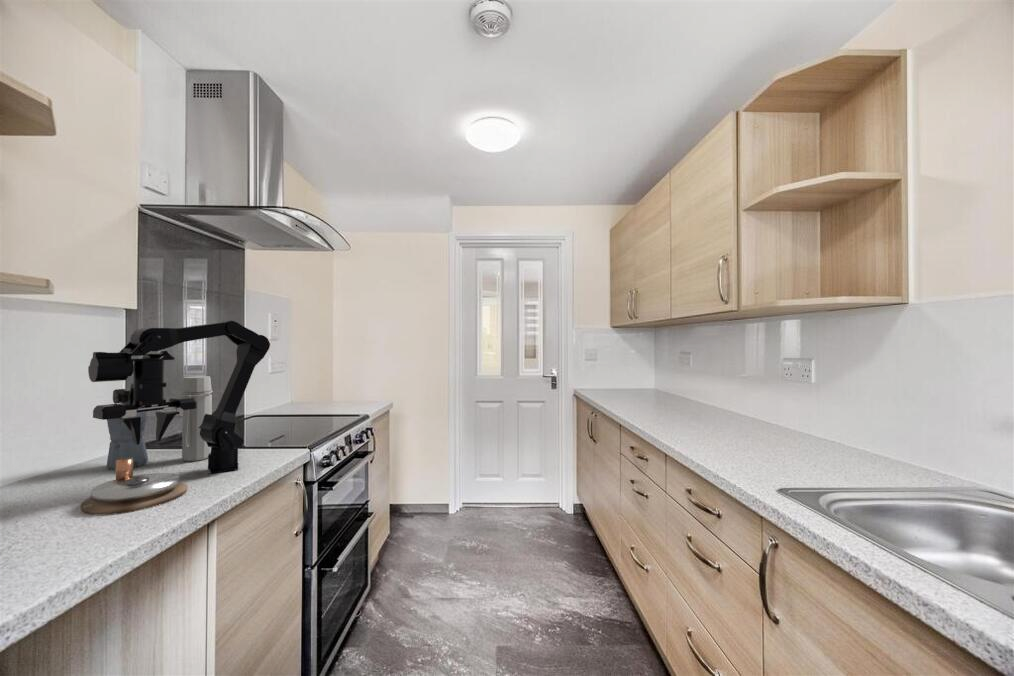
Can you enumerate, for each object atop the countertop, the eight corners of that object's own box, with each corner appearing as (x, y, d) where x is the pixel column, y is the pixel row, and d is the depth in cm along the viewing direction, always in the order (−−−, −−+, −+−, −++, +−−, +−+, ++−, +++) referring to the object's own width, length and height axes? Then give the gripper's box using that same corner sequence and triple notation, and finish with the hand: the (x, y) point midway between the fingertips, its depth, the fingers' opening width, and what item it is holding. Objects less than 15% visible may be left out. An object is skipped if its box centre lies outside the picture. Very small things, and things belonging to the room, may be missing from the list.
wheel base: (190, 480, 108) (190, 475, 108) (181, 503, 93) (182, 497, 93) (94, 493, 98) (95, 488, 98) (67, 521, 83) (67, 515, 83)
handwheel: (192, 488, 98) (192, 459, 99) (108, 510, 85) (109, 477, 85) (159, 477, 106) (159, 451, 106) (77, 497, 92) (78, 466, 93)
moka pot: (94, 474, 112) (95, 400, 112) (115, 460, 126) (116, 393, 126) (140, 470, 116) (141, 398, 117) (155, 456, 130) (156, 392, 130)
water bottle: (190, 456, 131) (191, 376, 131) (217, 455, 132) (218, 376, 132) (170, 464, 122) (171, 378, 122) (199, 463, 123) (200, 378, 123)
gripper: (176, 375, 115) (175, 432, 114) (83, 380, 98) (82, 447, 98) (198, 376, 109) (197, 436, 109) (104, 382, 93) (103, 453, 93)
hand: (147, 442), depth 102 cm, fingers open, 4 cm apart
